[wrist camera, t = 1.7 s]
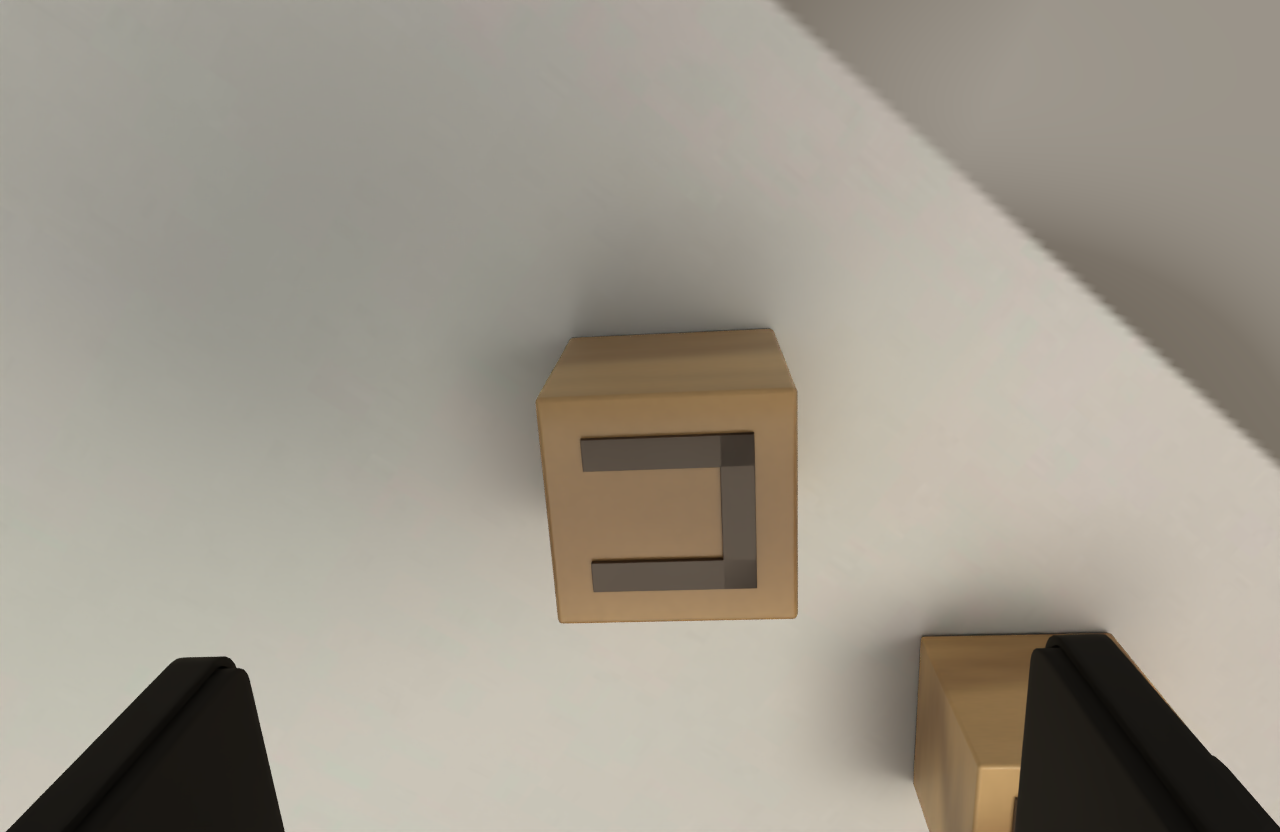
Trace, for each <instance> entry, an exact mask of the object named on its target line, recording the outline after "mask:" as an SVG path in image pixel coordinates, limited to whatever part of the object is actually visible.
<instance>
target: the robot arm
mask: <svg viewBox="0 0 1280 832" xmlns="http://www.w3.org/2000/svg"><path fill="white" fill-rule="evenodd" d="M6 832H285V831H284V827H283V822H282V818H281V814H280V809H279V805H278V801H277V796H276V792H275V788H274V783H273V779H272V775H271V770H270V766H269V762H268V757H267V753H266V749H265V744H264V740H263V736H262V731H261V727H260V723H259V718H258V714H257V710H256V705H255V701H254V697H253V692H252V688H251V684H250V680H249V677H248V674H247V673H246V671H245V670H243V669H241V668H236V666H235V664H234V662H233V661H232V660H231V659H230V658H228V657H187V658H179V659H176V660H175V661H173V662H172V663H171V664H169V666H168V667H167V668H166V669H165V670H164V671H163V672H162V673H161V674H160V675H159V676H158V677H157V678H156V679H155V680H154V681H153V682H152V683H151V684H150V685H149V686H148V687H147V688H146V689H145V690H144V691H143V692H142V693H141V694H140V695H139V696H138V697H137V698H136V699H135V700H134V701H133V702H132V703H131V704H130V705H129V706H128V707H127V708H126V709H125V711H124V712H123V713H122V714H121V715H120V716H119V717H118V718H117V719H116V720H115V721H114V722H113V723H112V724H111V725H110V726H109V727H108V728H107V729H106V730H105V731H104V732H103V733H102V734H101V735H100V736H99V737H98V738H97V739H96V740H95V741H94V742H93V743H92V744H91V745H90V746H89V747H88V748H87V749H86V750H85V751H84V752H83V753H82V754H81V756H80V757H79V758H78V759H77V760H76V761H75V762H74V763H73V764H72V765H71V766H70V767H69V768H68V769H67V770H66V771H65V772H64V773H63V774H62V775H61V776H60V777H59V778H58V779H57V780H56V781H55V782H54V783H53V784H52V785H51V786H50V787H49V788H48V789H47V790H46V791H45V792H44V793H43V794H42V795H41V796H40V797H39V798H38V799H37V800H36V802H35V803H34V804H33V805H32V806H31V807H30V808H29V809H28V810H27V811H26V812H25V813H24V814H23V815H22V816H21V817H20V818H19V819H18V820H17V821H16V822H15V823H14V824H13V825H12V826H11V827H10V828H9V829H8V830H7V831H6ZM1015 832H1280V827H1279V826H1278V825H1277V824H1276V823H1275V822H1274V820H1273V819H1272V818H1271V817H1270V816H1269V815H1268V814H1267V812H1266V811H1265V810H1264V809H1263V808H1262V807H1261V806H1260V804H1259V803H1258V802H1257V801H1256V800H1255V799H1254V798H1253V796H1252V795H1251V794H1250V793H1249V792H1248V791H1247V789H1246V788H1245V787H1244V786H1243V785H1242V784H1241V783H1240V781H1239V780H1238V779H1237V778H1236V777H1235V776H1234V775H1233V773H1232V772H1231V771H1230V770H1229V769H1228V768H1227V767H1226V766H1225V765H1224V764H1223V763H1222V762H1221V761H1220V760H1218V759H1217V758H1216V757H1215V756H1212V755H1211V754H1210V753H1209V752H1208V750H1207V749H1206V748H1205V747H1204V746H1203V745H1202V743H1201V742H1200V741H1199V740H1198V739H1197V738H1196V737H1195V735H1194V734H1193V733H1192V732H1191V731H1190V730H1189V728H1188V727H1187V726H1186V725H1185V724H1184V723H1183V721H1182V720H1181V719H1180V718H1179V717H1178V716H1177V715H1176V713H1175V712H1174V711H1173V710H1172V709H1171V708H1170V706H1169V705H1168V704H1167V703H1166V702H1165V701H1164V699H1163V698H1162V697H1161V696H1160V695H1159V694H1158V693H1157V691H1156V690H1155V689H1154V688H1153V687H1152V686H1151V684H1150V683H1149V682H1148V681H1147V680H1146V679H1145V678H1144V676H1143V675H1142V674H1141V673H1140V672H1139V671H1138V669H1137V668H1136V667H1135V666H1134V665H1133V664H1132V662H1131V661H1130V660H1129V659H1128V658H1127V657H1126V656H1125V654H1124V653H1123V652H1122V651H1121V650H1120V649H1119V647H1118V646H1117V645H1116V644H1115V643H1114V642H1113V640H1112V639H1110V638H1109V637H1108V636H1107V635H1105V634H1069V635H1052V636H1051V637H1049V639H1048V641H1047V643H1046V646H1045V648H1036V649H1034V650H1033V652H1032V654H1031V659H1030V669H1029V680H1028V691H1027V702H1026V712H1025V723H1024V734H1023V745H1022V756H1021V767H1020V778H1019V789H1018V800H1017V811H1016V822H1015Z"/></svg>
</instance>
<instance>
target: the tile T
mask: <svg viewBox="0 0 1280 832" xmlns="http://www.w3.org/2000/svg"><path fill="white" fill-rule="evenodd" d="M1088 634H1105V635H1107V636H1108V637H1109V638H1110V639H1112V640H1113V642H1114V643H1115V644H1116V645H1117V646H1118V647H1119V649H1120V650H1121V651H1122V652H1123V653H1124V654H1125V656H1126V657H1127V658H1128V659H1129V660H1130V661H1131V662H1132V664H1133V665H1134V666H1135V667H1136V668H1137V669H1138V671H1139V672H1140V673H1141V674H1142V675H1143V676H1144V678H1145V679H1146V680H1147V681H1148V682H1149V683H1150V684H1151V686H1152V687H1153V688H1154V689H1155V690H1156V691H1157V689H1156V688H1155V687H1154V686H1153V684H1152V683H1151V682H1150V681H1149V680H1148V678H1147V677H1146V676H1145V675H1144V673H1143V672H1142V671H1141V670H1140V669H1139V667H1138V666H1137V665H1136V664H1135V662H1134V661H1133V660H1132V659H1131V658H1130V656H1129V655H1128V654H1127V653H1126V651H1125V650H1124V649H1123V648H1122V647H1121V645H1120V644H1119V643H1118V642H1117V641H1116V639H1115V638H1114V637H1113V636H1112V634H1109V633H1088ZM1052 635H1069V634H1035V635H982V636H929V637H922V638H921V647H920V666H919V685H918V704H917V724H916V743H915V762H914V781H913V784H914V787H915V790H916V793H917V796H918V799H919V802H920V805H921V808H922V811H923V814H924V817H925V820H926V823H927V826H928V829H929V832H1015V822H1016V811H1017V800H1018V789H1019V778H1020V767H1021V756H1022V745H1023V734H1024V723H1025V712H1026V702H1027V691H1028V680H1029V669H1030V659H1031V654H1032V652H1033V650H1034V649H1036V648H1045V646H1046V643H1047V641H1048V639H1049V637H1051V636H1052ZM1157 693H1158V694H1159V695H1160V696H1161V697H1162V695H1161V694H1160V693H1159V692H1158V691H1157ZM1162 698H1163V697H1162ZM1163 699H1164V698H1163ZM1164 701H1165V702H1166V700H1165V699H1164ZM1166 703H1167V702H1166ZM1167 704H1168V703H1167ZM1168 705H1169V704H1168ZM1169 706H1170V705H1169ZM1170 708H1171V706H1170ZM1171 709H1172V708H1171ZM1172 710H1173V709H1172ZM1173 711H1174V710H1173ZM1174 712H1175V711H1174ZM1176 715H1177V714H1176ZM1177 716H1178V715H1177ZM1178 717H1179V716H1178ZM1179 718H1180V717H1179ZM1183 723H1184V722H1183Z"/></svg>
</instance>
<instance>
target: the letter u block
mask: <svg viewBox="0 0 1280 832" xmlns="http://www.w3.org/2000/svg"><path fill="white" fill-rule="evenodd" d="M535 404H536V413H537V423H538V433H539V442H540V452H541V461H542V471H543V480H544V490H545V499H546V509H547V518H548V528H549V537H550V547H551V556H552V566H553V575H554V585H555V594H556V604H557V613H558V620H559V622H560V623H607V622H655V621H703V620H751V619H793V618H796V616H797V614H798V426H797V389H796V387H795V384H794V382H793V379H792V377H791V374H790V372H789V369H788V366H787V364H786V361H785V359H784V356H783V354H782V351H781V349H780V346H779V343H778V341H777V338H776V336H775V333H774V331H773V330H772V329H754V330H732V331H711V332H689V333H667V334H645V335H623V336H601V337H580V338H572V339H570V340H569V342H568V344H567V346H566V347H565V349H564V351H563V353H562V354H561V356H560V358H559V360H558V362H557V363H556V365H555V367H554V369H553V370H552V372H551V374H550V376H549V377H548V379H547V381H546V383H545V385H544V386H543V388H542V390H541V392H540V393H539V395H538V397H537V399H536V402H535Z"/></svg>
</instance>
